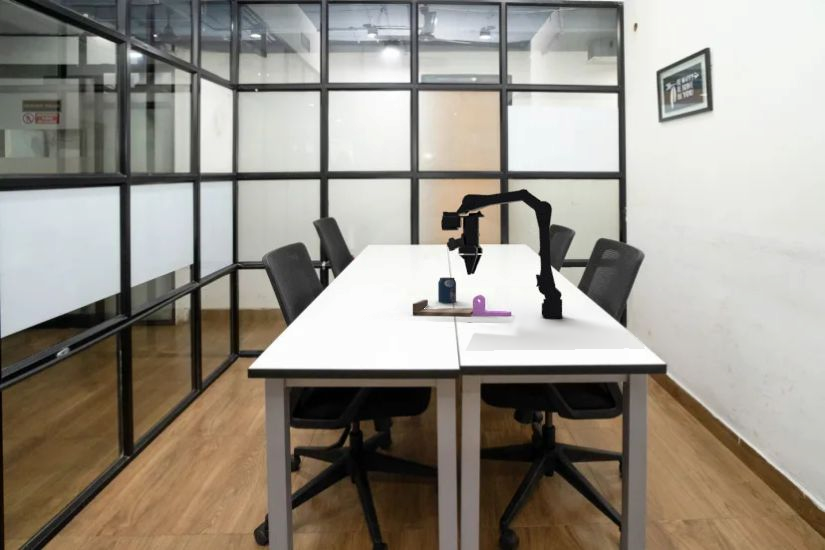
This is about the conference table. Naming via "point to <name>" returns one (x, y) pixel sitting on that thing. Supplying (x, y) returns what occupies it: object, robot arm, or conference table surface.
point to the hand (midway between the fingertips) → (470, 274)
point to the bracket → (480, 308)
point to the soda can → (447, 290)
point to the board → (439, 310)
